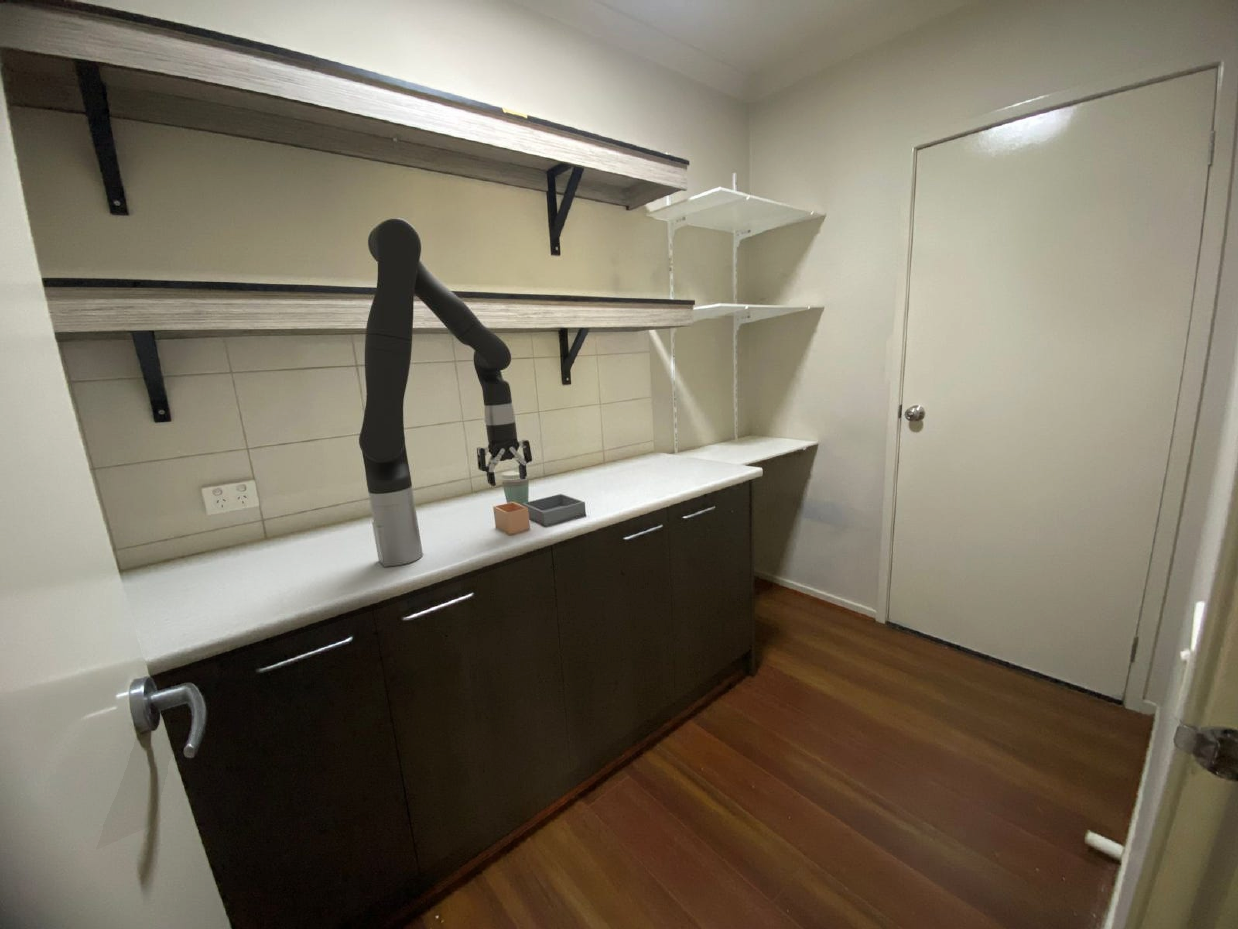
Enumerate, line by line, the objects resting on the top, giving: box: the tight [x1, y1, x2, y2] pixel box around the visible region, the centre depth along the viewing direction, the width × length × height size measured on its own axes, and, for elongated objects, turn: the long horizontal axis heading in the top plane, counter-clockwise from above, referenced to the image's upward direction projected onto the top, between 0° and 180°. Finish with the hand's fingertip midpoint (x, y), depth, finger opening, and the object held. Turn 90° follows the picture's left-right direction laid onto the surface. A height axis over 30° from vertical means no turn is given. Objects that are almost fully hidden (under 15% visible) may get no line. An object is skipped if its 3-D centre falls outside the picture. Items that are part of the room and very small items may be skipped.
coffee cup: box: [500, 469, 530, 505], centre depth 147 cm, size 9×8×12 cm
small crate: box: [492, 502, 531, 536], centre depth 132 cm, size 6×9×6 cm, turn 37°
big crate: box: [522, 493, 587, 528], centre depth 141 cm, size 13×13×4 cm
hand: (508, 482), depth 130 cm, fingers open, 8 cm apart
